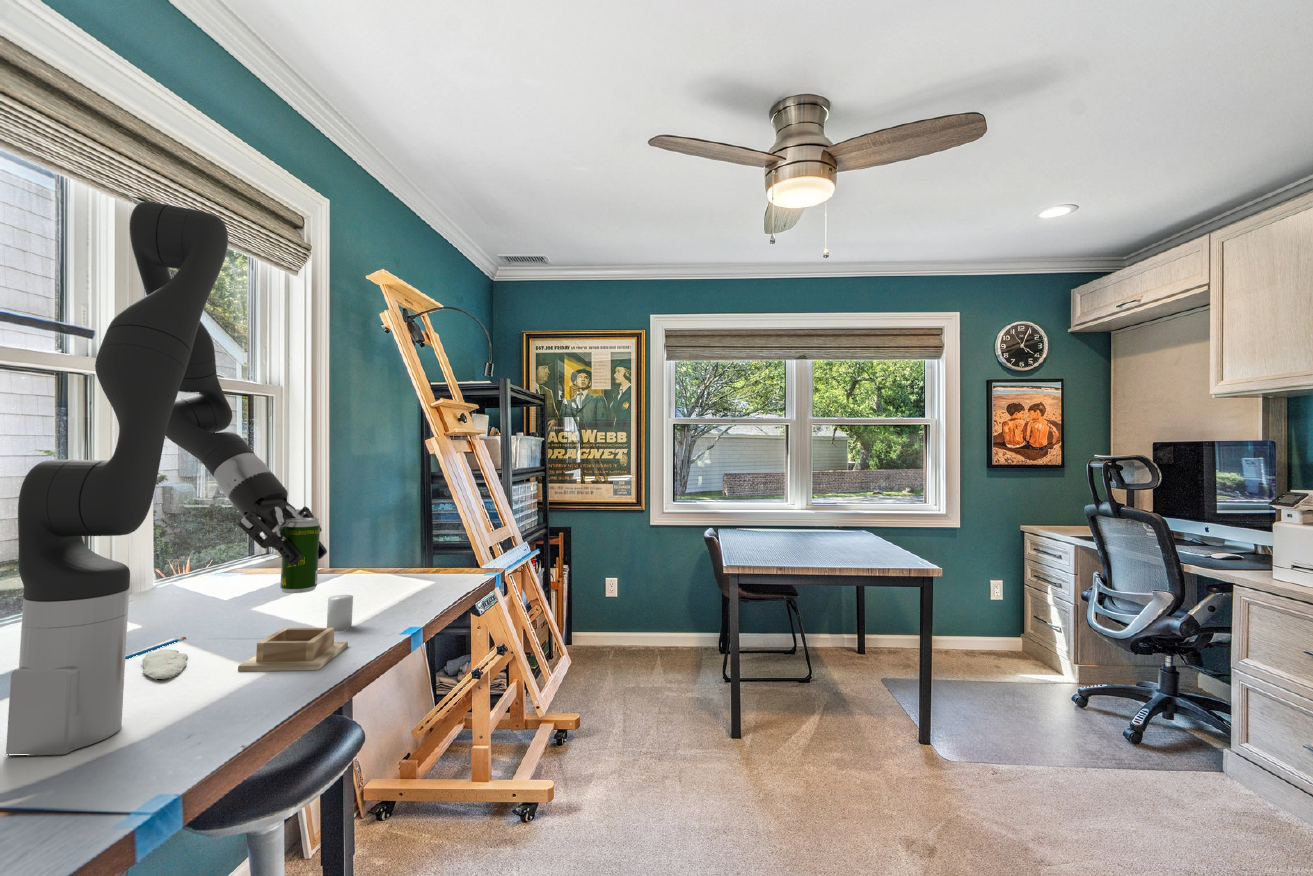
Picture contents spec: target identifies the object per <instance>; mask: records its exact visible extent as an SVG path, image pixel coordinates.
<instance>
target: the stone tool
mask: <svg viewBox="0 0 1313 876" xmlns="http://www.w3.org/2000/svg"><path fill="white" fill-rule="evenodd" d="M188 657H189V656H188V654H186V653H185V652H184V653H183V652H181V653H180V651H179V650H177V649H171V648H170V649H169V648H167V649H166V648H165V649H159V650H158V651H155V652H153V651H152V652H148V653H145V656H144V658H142V662H141V663H142V664H141V665H142V666H143V669H142V674H143V675H145V676H147V677H149V678H152V679H154V680H156V681H158V680H157V679H165V680H167V679H166V678H169V679H171V678H170V677H172V678H174V677H173V676H175V675H176V676H177V675H179V674H181V672H183V669H185V668H186V667H187V665H188V663H187V659H188ZM186 664H187V665H186ZM184 667H185V668H184ZM178 673H179V674H178ZM176 676H175V677H176Z"/></svg>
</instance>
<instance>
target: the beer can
mask: <svg viewBox="0 0 1313 876" xmlns="http://www.w3.org/2000/svg"><path fill="white" fill-rule="evenodd" d="M320 527H321V523H320V519H319V518H317V517H314V518H290V519H286V523H285V533H286V535H287V537H288V540H287V541H289V540H290V541H291V542H292V544H293V545H294V546H295V547H296V548H297V550H298V551H299V552H300V553H301V555H302V559H301V560H300V561H299V562H298V563H297V564H296V565H290V564H289V563H288V562H287V561H286V560H285V559H284V558H283V557H282V556H281V565H280V566H281V568H280V570H281V571H280V585H279V586H280V589H281V592H282V593H284V594H303V593H309V592H312V591H315V590H316V588H317V586H318V576H319V575H318V574H319V573H318V571H319V559H318V556H319V541H320V536H321V535H320V534H321V532H320Z"/></svg>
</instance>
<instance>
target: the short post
mask: <svg viewBox="0 0 1313 876" xmlns="http://www.w3.org/2000/svg"><path fill="white" fill-rule="evenodd" d="M353 605H354V596H353V595H352V594H338V595H337V594H336V595H331V596H329V597H327V615H326V617H327V618H326V628H334V632H336V631H337V632H338V631H345V630H344V629H346V630H348V629H347V628H349V629H351V628H352V625H353ZM350 627H351V628H350Z"/></svg>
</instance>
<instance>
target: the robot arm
mask: <svg viewBox="0 0 1313 876" xmlns="http://www.w3.org/2000/svg"><path fill="white" fill-rule="evenodd" d="M128 228H129V238H130V243H131V244H130V246H131V249H132V252H133V256H134V259H135V262H136V265H137V269H138V272H139V276H140V279H141V283H142V285H143V290H144V292H145V295H144V297H142V298H140V299H139V300H137V301H135V302H133V303H132V304H131V305H129V306H127V307H126V308H124V309H123V310H122V311H121V312H119V313H118V314H117V315H116V316H115V317H114V318H112V320H111V322H110V323H109V325H108V327H107V330H106V332H105V334H104V336H103V339H102V342H101V345H100V347H99V350H98V351H97V355H96V357H95V364H94V367H95V370H94V371H95V373H96V377H97V380H98V382H99V384H100V387H101V388H102V391H103V392H104V394H105V396H106V398H107V400H108V402H109V404H110V406H111V408H112V410H113V411H114V414H115V416H116V419H117V422H118V437H117V443H116V447H115V450H114V453H113V455H112V457H111V458H110V459H109V460H106V459H105V460H103V459H101V460H99V459H47V460H43V461H41V462H39V463H37V464H35V465H34V466H33V467H32V468H31V469H30V470H29V471H28V473H27V474H26V476H25V477H24V480H23V481H22V484H21V487H20V491H19V496H18V503H17V528H18V529H17V531H18V533H17V534H18V555H17V556H18V558H17V559H18V560H17V561H18V562H17V564H18V565H17V566H18V572H19V573H18V574H19V576H20V579H21V581H22V585H23V596H22V597H23V600H22V616H21V628H20V643H19V645H20V646H19V659H18V660H19V662H18V668H15V669H13V670H12V671H11V674H10V683H9V686H10V687H9V697H8V698H9V701H8V702H9V703H8V713H7V715H8V717H7V733H6V744H5V745H6V748H5V755H6V754H8V755H9V754H34V755H33V756H52V755H54V756H57V755H67V754H69V753H71V752H73V751H75V750H77V749H80V748H85V747H87V746H91V745H94V744H96V743H99V742H101V741H104V740H105V739H108V738H110V737H111V736H113V735H115V734H116V733H118V732H119V731H120V729H121V728H122V726H123V725H122V724H123V723H122V722H123V706H124V690H125V688H124V687H125V671H126V670H125V669H126V660H125V656H127V655H126V654H127V653H126V651H127V634H128V617H129V604H130V585H131V583H130V582H131V571H130V568H129V566H128V565H126V564H124V563H123V562H119V561H116V560H112V559H110V558H107V557H105V556H102V555H100V554H98V553H96V552H94V551H93V550H91V549H90V548H89V547H88V546H87V545H86V544H85V541H84V538H83V537H114V536H116V537H117V536H118V537H119V536H126V535H130V534H132V533H134V532H136V531H137V530H138V529H139V528H140V527H141V525H142V524H143V523H144V521H145V520H146V517H147V515H148V514H149V512H150V509H151V506H152V502H153V499H154V495H155V490H156V485H157V481H158V476H159V475H158V474H159V470H160V465H161V460H162V454H163V449H164V443H165V439H166V438H167V439H168V440H170V441H171V442H172V443H174V444H175V445H176V446H177V447H180V448H182V449H183V450H184V451H186V452H188V453H189V454H190V455H192V456H193V457H194V458H195V459H196V458H197V460H199V461H201V463H202V465H204V467H205V468H206V469H207V470H208V472H209V473H210V474H211V475H212V477H213V478H214V480H215V481H216V483H217V484H218V486H219V488H220V489H221V491H222V492H223V493H224V495H225V496H226V497H227V498H228V499H229V501H230V502H231V503H232V504H233V506H234V507H235V508H236V510H237V511H238V512H239V513H240V514H241V516H242V517H243V518H241V520H239V522H238V523H237V525H238V527H240V529H242V531H244V533H246V534H247V535H248V536H249V537H250V538H251V539H252V540H253V541H255V543H256V544H257V545H258V546H260V548H262V549H266V550H267V548H271V549H273V550H274V551H278V553H279V554H280V556H281V558H282V557H283V558H284V559H285V560H286V561H287V562H288V563H289V564H290V565H296V564H297V563H298V562H299V561H300V560H301V559H302V555H301V553H300V552H299V551H298V550H297V548H296V547H295V546H294V545H293V544H292V542H291V541H290V540H289V541H287V540H288V537H287V535H286V533H285V523H286V519H290V518H315V516H314V515H313V512H312V511H311V509H310V508H309V507H308V506H303V507H302V508H301V509H298V508H296V507H294V506H293V505H292V504H290V503H289V502H288V495H289V492H288V490H287V489H286V487H285V486H284V485H283V484H282V483H281V481H280V480H279V479H278V478H277V476H276V475H275V474H274V473H273V472H272V470H271V469H270V468H269V467H268V465H267V464H266V463H265V462H264V461H263V460H261V459H260V457H258V455H256V453H255V452H254V451H253V450H252V449H251V447H250V446H249V445H248V444H247V442H246V441H245V440H244V439H243V438H242V436H240V435H239V434H237V433H235V432H232V431H231V432H230V431H224V430H226V429H227V428H228V427H229V426H230V424H231V423H232V420H233V411H232V408H231V406H230V404H229V402H228V400H227V398H226V396H225V394H224V391H223V387H222V386H221V384H220V380H219V378H218V374H217V363H216V361H217V360H216V354H215V353H216V352H215V346H214V345H215V344H214V342H213V338H212V336H211V334H210V333H209V330H208V329H207V327H206V326H205V324H204V323H203V322H202V321H201V319H202V316H203V313H204V310H205V307H206V305H207V303H208V300H209V298H210V295H211V292H212V291H213V289H214V287H215V285H216V282H217V280H218V277H219V275H220V272H222V268H223V265H224V263H225V259H226V256H227V251H228V247H229V233H228V228H227V226H226V224H225V222H224V221H223V220H222V219H221V218H220V217H219V216H217V215H215V214H212V213H209V212H207V211H202V210H198V209H192V208H187V207H182V206H177V205H172V204H165V203H161V202H154V201H142V202H139V203H138V204H136V206H134V208H133V209H132V211H131V215H130V218H129V227H128ZM171 269H175V270H176V269H177V272H176V273H175V275H174V276H173V277H172V274H171ZM179 392H183V393H198V394H197V395H194V396H193V395H192V396H189V397H185V398H180V399H177V397H178V395H179ZM222 431H223V432H222ZM321 532H322V527H321V526H320V533H321ZM261 533H263V536H264V538H263V536H261ZM327 553H328V550H327V549H326V547H325V546H324V545H323V544H322V542H321V541H320V540H319V556H318V560H321V559H322V558H323V557H324V556H325V555H326V554H327Z"/></svg>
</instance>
